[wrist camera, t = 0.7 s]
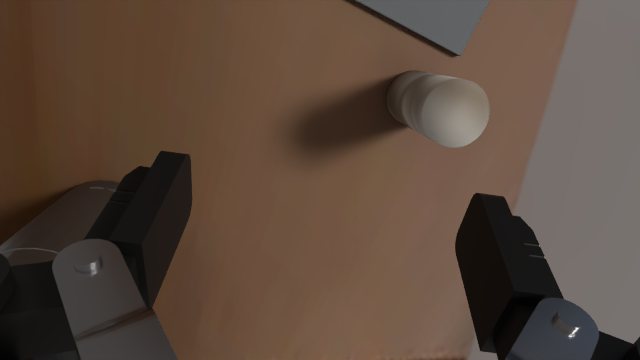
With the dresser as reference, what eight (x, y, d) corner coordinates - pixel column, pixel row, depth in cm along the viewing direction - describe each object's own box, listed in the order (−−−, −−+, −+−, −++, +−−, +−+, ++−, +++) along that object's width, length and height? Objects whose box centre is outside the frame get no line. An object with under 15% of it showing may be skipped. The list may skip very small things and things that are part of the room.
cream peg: (422, 132, 44) (468, 158, 34) (377, 111, 43) (411, 131, 33) (447, 84, 43) (501, 97, 33) (401, 61, 42) (444, 67, 32)
